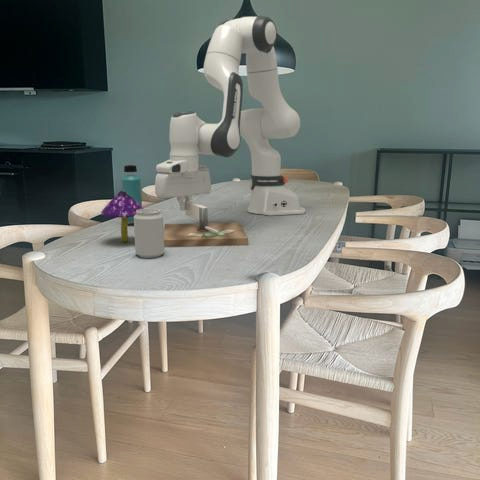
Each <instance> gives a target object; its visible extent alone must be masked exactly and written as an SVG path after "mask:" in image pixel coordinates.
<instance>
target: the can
mask: <svg viewBox="0 0 480 480" xmlns="http://www.w3.org/2000/svg"><path fill="white" fill-rule="evenodd" d="M133 227H134V228H133V229H134V249H135V254H136V255H137V256H138V257H139V258H142V259H155V258H159V257H161V256H162V255H163V254H164V253H165V247H164V227H165V224H164V215H163V214H162V213H161V209H158V208H144V209H140V210H137V211H136V215H135V216H134V222H133Z"/></svg>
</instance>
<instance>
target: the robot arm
mask: <svg viewBox="0 0 480 480" xmlns="http://www.w3.org/2000/svg"><path fill="white" fill-rule="evenodd" d="M277 31H278V29H277V26H276V24H275V22H274V21H273V19H272V18H271V17H269V16H266V15H265V16H264V15H258V16H241V17H240V18H234V19H227V20H223V21H221V22H220V23H219V24H218V25H217V26H216V28H215V30H214V32H213V34H212V36H211V39H210V41H209V44H208V47H207V50H206V54H205V57H204V62H203V76H204V78H205V79H206V81H207V82H208V83H209V84H210V85H212V86H213V87H214V88H216V89H218V90H220V91H222V94H223V106H222V114H221V115H222V116H221V120H220V121H219V122H218V123H206V122H205V121H203V120H202V119H200V117H198V116H197V115H198V114H197V112H195V111H192V110H191V111H189V110H188V111H179V112H176V113H174V114H173V115H172V116H171V118H170V122H169V133H168V134H169V136H168V137H169V144H170V151H169V159H167V160H165V161H164V162H161V163H158V164H156V167H155V170H156V172H157V174H156V175H155V180H154V193H155V195H156V197H157V198H159V199H169V198H176V200H177V203H178V204H179V209H180V211H186V210H189V204H190V202H191V201H192V199H193V196H196V195H199V196H200V195H206V194H210V193H211V191H212V181H211V175H210V168H209V167H208V165H206V164H199V159H200V158H199V154H201V155H208V156H209V155H210V156H218V157H223V158H230V157H232V156H233V155H234V154H235V153H236V152H237V151H238V149H239V147H240V146H241V139H242V138H243V140H244V141H245V143H246V144H247V147H248V149H249V152H250V159H251V175H250V180H249V181H250V185H249V186H250V187H249V188H250V197H249V202H248V203H249V204H248V207H247V210H246V211H247V212H249V213H251V214H256V215H265V216H285V215H303V214H306V209H305V207H303V206H300V205H301V204H300V199H299V196H298V195H297V194H296V192H294V191H293V190H292V189H291V188H289V187H288V186H287V185H286V184H287V183H288V182H289V178H288V177H287V176H283V175H281V173H282V170H281V168H282V166H281V165H282V162H281V161H282V156H281V155H280V153H279V151H278V150H276V149H275V148H273V147H272V146H271V144H270V143H269V139H281V140H282V139H288V138H289V139H290V138H292V137H295V136H296V135H297V134H298V132H299V130H300V128H301V118H300V116H299V114H298V112H297V111H296V110H294V108H292V107H291V106H290V105H289V104H288V102H287V101H286V100H285V98H284V96H283V94H282V92H281V91H282V90H281V88H280V87H281V86H280V80H279V73H278V72H279V71H278V62H277V54H276V50H275V46H274V45H275V44H276V40H277V38H278V34H277ZM242 54H245V64H246V78H247V86H248V87H247V88H248V92H249V94H250V96H251V97H252V98H254V99H255V100H257V101H258V102H260V104H261V105H262V108H248V109H244V110H242V107H243V106H242V105H243V94H244V83H243V79H242V77H241V76H240V73H239V69H240V64H241V61H242ZM241 137H242V138H241Z"/></svg>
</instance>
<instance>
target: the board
mask: <svg viewBox="0 0 480 480" xmlns="http://www.w3.org/2000/svg"><path fill="white" fill-rule="evenodd" d="M208 227H210V228H212V229H215V230H217V231H219V233H214V232H212V231H209V230H200V229H199V222H197V223H194V222H193V223H191V222H190V223H165V224H164V248H176V247H177V248H182V247H214V246H215V247H219V246H249V236H248V235H247V233H246V232H245V230H244V229H243V227H242V225H241V224H240V222H208Z"/></svg>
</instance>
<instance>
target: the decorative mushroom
mask: <svg viewBox="0 0 480 480" xmlns="http://www.w3.org/2000/svg"><path fill="white" fill-rule="evenodd" d="M140 209H145V208H144V206H143V205H142V206H141V205H140V204H139V203H138V202H137V201H136V200H135V199H134V198H132V197H131V196H129V195H128V194H127V193H126V192H125V191H122V190H120V191H119V192H118V193H117V194H116V195H115V196H114V197H113V198H112V199H111V200H110V201H109V202H108V203H107V204H106V205H105V207H104V208H102V210H101V211H100V212H101V216H104V217H107V218H121V222H120V232H121V233H120V235H121V241H122V243H127V242H128V241H129V233H128V227H129V226H128V224H129V222H128V217H134V216H135V215H136V211H137V210H140Z"/></svg>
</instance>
